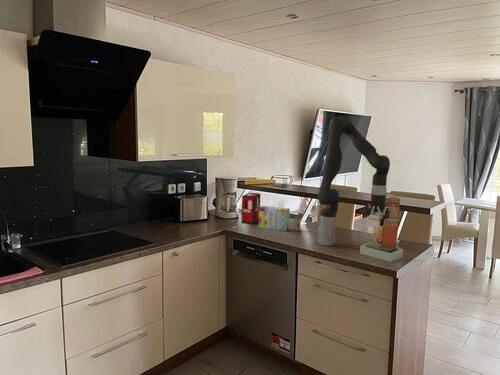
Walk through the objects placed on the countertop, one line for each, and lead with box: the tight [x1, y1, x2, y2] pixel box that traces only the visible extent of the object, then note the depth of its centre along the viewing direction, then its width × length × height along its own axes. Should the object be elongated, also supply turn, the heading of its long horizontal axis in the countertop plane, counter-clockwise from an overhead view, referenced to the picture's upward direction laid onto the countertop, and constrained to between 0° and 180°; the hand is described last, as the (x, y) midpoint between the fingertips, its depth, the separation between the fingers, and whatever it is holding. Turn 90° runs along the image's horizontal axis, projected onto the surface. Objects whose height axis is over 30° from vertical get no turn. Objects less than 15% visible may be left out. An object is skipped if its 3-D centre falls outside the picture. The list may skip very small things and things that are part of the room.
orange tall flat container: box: [372, 192, 401, 247], centre depth 228 cm, size 23×8×30 cm, turn 174°
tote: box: [359, 241, 404, 263], centre depth 206 cm, size 18×13×5 cm
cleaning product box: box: [241, 192, 261, 225], centre depth 279 cm, size 16×9×20 cm, turn 163°
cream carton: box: [368, 213, 385, 228], centre depth 201 cm, size 5×7×6 cm
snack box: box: [257, 204, 291, 232], centre depth 259 cm, size 21×6×15 cm, turn 63°
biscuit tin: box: [368, 242, 398, 253], centre depth 205 cm, size 12×9×5 cm
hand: (376, 224), depth 202 cm, fingers closed on cream carton, 5 cm apart
